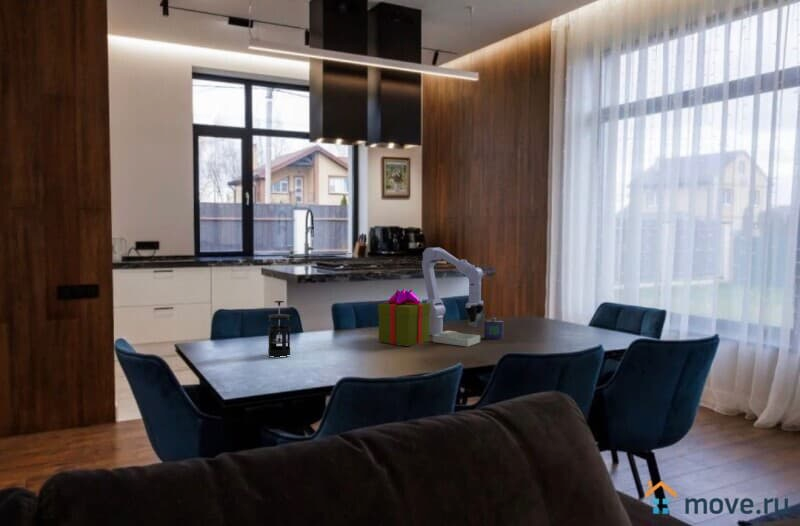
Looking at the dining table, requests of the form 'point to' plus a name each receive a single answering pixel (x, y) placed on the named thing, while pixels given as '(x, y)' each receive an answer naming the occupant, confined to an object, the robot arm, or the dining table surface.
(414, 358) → the dining table surface
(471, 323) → the tin
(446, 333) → the egg box
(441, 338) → the tote
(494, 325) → the flask
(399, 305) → the gift box
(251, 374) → the dining table surface
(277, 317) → the french press
